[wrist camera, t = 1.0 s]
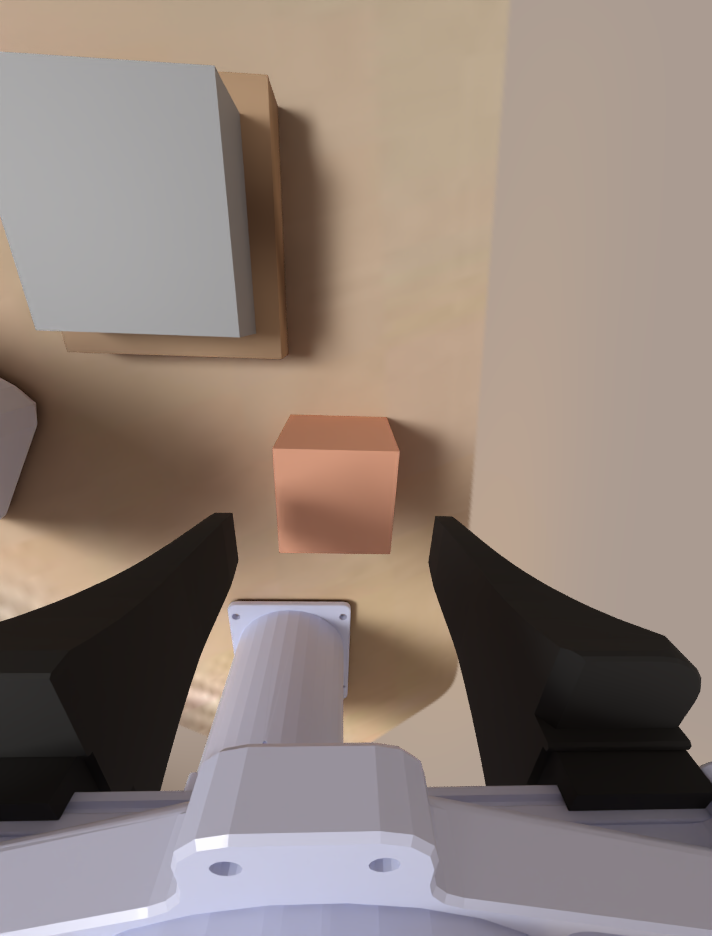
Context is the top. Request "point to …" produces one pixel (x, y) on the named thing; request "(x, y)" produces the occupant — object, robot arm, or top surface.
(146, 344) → the walnut slab
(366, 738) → the top surface
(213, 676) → the top surface
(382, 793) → the robot arm
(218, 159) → the grey slab
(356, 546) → the terracotta cube
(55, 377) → the top surface
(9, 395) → the soap bottle
